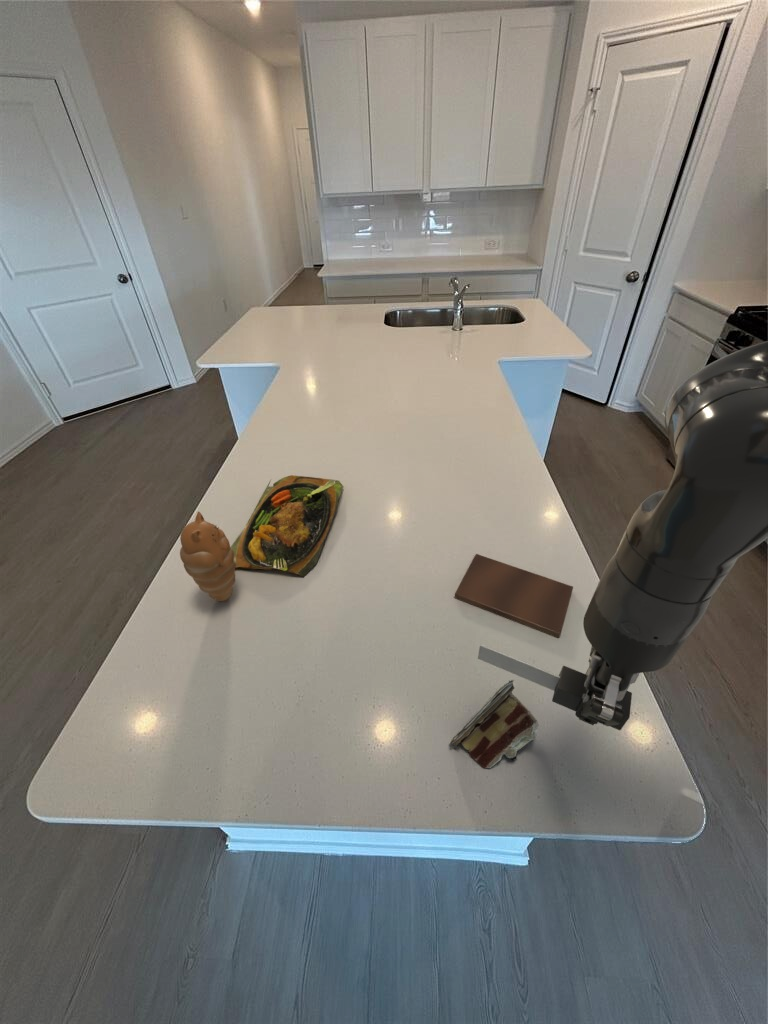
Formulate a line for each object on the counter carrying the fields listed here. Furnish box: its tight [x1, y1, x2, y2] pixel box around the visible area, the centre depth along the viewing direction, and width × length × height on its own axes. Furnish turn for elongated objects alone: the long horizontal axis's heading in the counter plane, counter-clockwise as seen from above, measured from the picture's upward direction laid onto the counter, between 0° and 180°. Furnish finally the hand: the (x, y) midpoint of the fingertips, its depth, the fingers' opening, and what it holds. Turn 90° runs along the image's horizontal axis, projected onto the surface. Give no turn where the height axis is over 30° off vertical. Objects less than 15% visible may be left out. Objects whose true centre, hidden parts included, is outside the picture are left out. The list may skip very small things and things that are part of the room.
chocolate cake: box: [449, 679, 539, 769], centre depth 59 cm, size 10×7×12 cm
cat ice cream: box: [179, 511, 236, 602], centre depth 73 cm, size 9×8×18 cm
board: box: [454, 553, 574, 639], centre depth 78 cm, size 18×11×1 cm, turn 62°
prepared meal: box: [230, 474, 344, 577], centre depth 93 cm, size 28×4×18 cm
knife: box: [477, 643, 633, 731], centre depth 49 cm, size 16×3×3 cm, turn 62°
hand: (588, 702), depth 48 cm, fingers closed on knife, 3 cm apart
